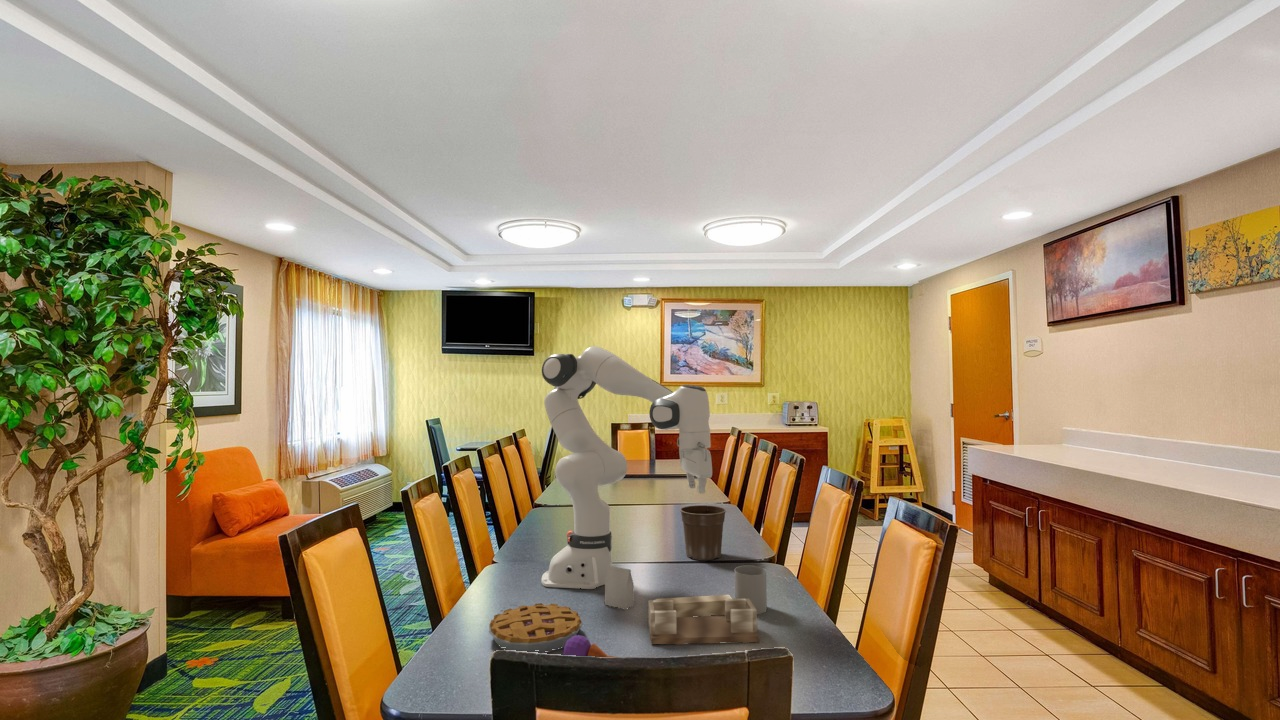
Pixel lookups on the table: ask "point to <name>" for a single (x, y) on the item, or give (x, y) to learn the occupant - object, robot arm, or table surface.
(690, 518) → the plant pot
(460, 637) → the table surface
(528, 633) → the pie
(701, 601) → the slat
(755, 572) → the cup
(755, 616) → the endcap rack
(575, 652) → the ice cream cone
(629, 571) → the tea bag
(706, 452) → the robot arm
